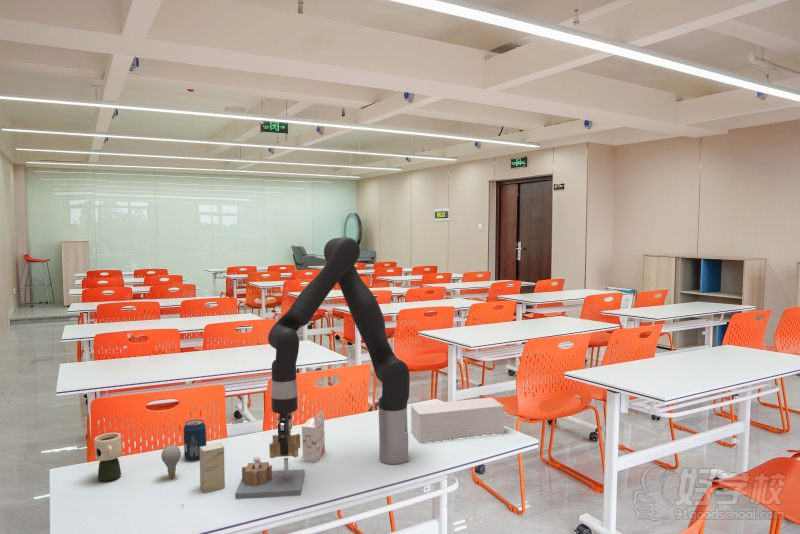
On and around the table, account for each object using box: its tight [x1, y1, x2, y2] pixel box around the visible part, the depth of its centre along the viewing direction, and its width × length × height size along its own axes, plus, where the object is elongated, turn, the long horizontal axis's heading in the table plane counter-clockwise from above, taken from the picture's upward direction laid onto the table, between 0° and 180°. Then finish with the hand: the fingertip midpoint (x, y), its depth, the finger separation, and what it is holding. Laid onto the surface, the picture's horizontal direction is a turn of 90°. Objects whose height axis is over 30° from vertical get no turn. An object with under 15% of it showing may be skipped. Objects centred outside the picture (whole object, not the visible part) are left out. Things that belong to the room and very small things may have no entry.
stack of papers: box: [410, 397, 505, 444], centre depth 203 cm, size 32×11×11 cm, turn 105°
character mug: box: [94, 432, 123, 482], centre depth 169 cm, size 11×7×13 cm, turn 34°
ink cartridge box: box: [301, 409, 326, 463], centre depth 183 cm, size 9×5×15 cm, turn 168°
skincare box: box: [199, 442, 226, 493], centre depth 162 cm, size 6×4×12 cm
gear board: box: [234, 456, 306, 500], centre depth 163 cm, size 18×14×8 cm
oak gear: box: [268, 433, 301, 459], centre depth 164 cm, size 8×8×4 cm
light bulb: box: [160, 444, 182, 479], centre depth 169 cm, size 6×5×10 cm
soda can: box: [183, 419, 207, 462], centre depth 184 cm, size 7×7×12 cm
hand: (285, 450), depth 164 cm, fingers closed on oak gear, 6 cm apart
